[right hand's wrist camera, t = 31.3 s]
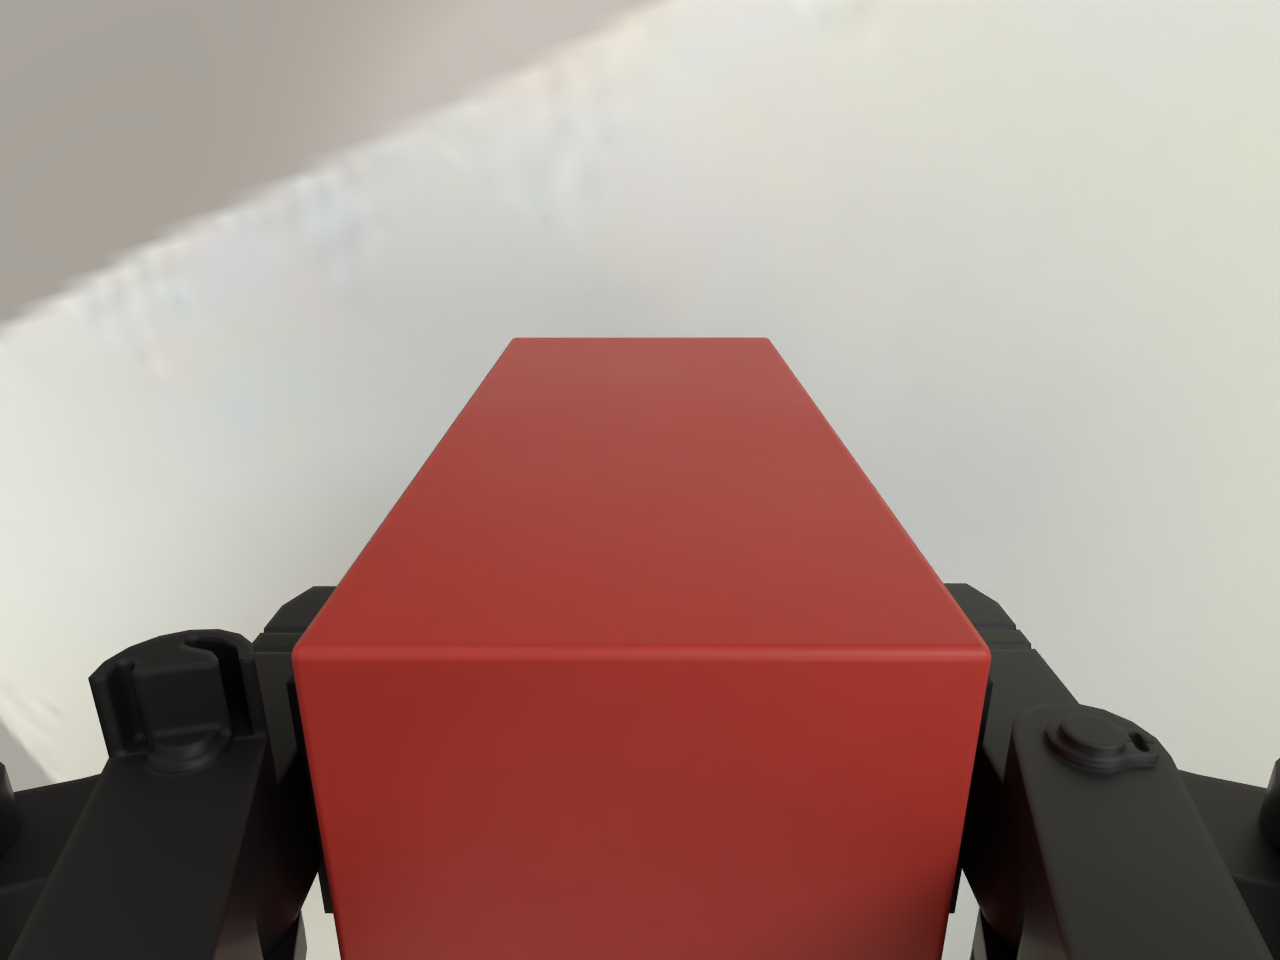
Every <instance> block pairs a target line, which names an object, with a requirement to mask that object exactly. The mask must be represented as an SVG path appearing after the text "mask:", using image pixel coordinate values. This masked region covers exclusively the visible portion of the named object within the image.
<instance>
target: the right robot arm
mask: <svg viewBox="0 0 1280 960" xmlns="http://www.w3.org/2000/svg"><path fill="white" fill-rule="evenodd" d="M944 585H945V587H946V588H947V590H948V591H949V592H950V594H951V595H952V597H953V598H954V599H955V601H956V602H957V604H958V605H959V606H960V608H961V609H962V611H963V612H964V613H965V615H966V616H967V618H968V619H969V620H970V622H971V623H972V625H973V626H974V627H975V629H976V630H977V632H978V633H979V634H980V636H981V637H982V639H983V640H984V641H985V643H986V644H987V646H988V647H989V650H990V654H991V663H990V669H989V675H988V681H987V687H986V693H985V699H984V705H983V711H982V717H981V723H980V729H979V735H978V741H977V747H976V753H975V759H974V765H973V771H972V777H971V783H970V789H969V795H968V801H967V807H966V813H965V819H964V825H963V831H962V837H961V843H960V849H959V856H958V862H957V868H956V874H955V880H954V886H953V892H952V898H951V904H950V910H949V913H954V912H955V906H956V901H957V895H958V889H959V883H960V877H961V871H962V869H963V871H964V873H965V876H966V878H967V880H968V882H969V884H970V887H971V889H972V891H973V893H974V896H975V898H976V900H977V902H978V904H979V912H978V918H977V923H976V929H975V934H974V939H973V945H972V950H971V956H970V960H1280V758H1279V759H1278V760H1277V761H1276V762H1275V766H1274V769H1273V772H1272V775H1271V778H1270V781H1269V784H1268V788H1262V787H1257V786H1252V785H1247V784H1242V783H1237V782H1232V781H1227V780H1222V779H1217V778H1212V777H1207V776H1202V775H1197V774H1193V773H1190V772H1186V771H1182V770H1178V769H1177V767H1176V765H1175V763H1174V761H1173V759H1172V757H1171V756H1170V755H1169V753H1168V752H1167V751H1166V750H1165V748H1164V747H1163V746H1162V745H1161V744H1160V742H1159V741H1158V740H1157V739H1156V738H1155V737H1154V736H1152V735H1151V734H1149V733H1148V732H1146V731H1145V730H1143V729H1142V728H1141V727H1139V726H1138V725H1136V724H1135V723H1133V722H1131V721H1129V720H1127V719H1124V718H1122V717H1120V716H1117V715H1115V714H1113V713H1110V712H1108V711H1106V710H1103V709H1098V708H1094V707H1090V706H1085V705H1081V704H1079V703H1078V702H1077V701H1076V699H1075V698H1074V697H1073V696H1072V694H1071V693H1070V692H1069V691H1068V689H1067V688H1066V687H1065V686H1064V684H1063V683H1062V682H1061V681H1060V679H1059V678H1058V677H1057V676H1056V674H1055V673H1054V672H1053V671H1052V669H1051V668H1050V667H1049V666H1048V665H1047V663H1046V662H1045V661H1044V660H1043V658H1042V657H1041V656H1040V655H1039V653H1038V652H1037V651H1036V650H1035V649H1031V643H1030V642H1029V641H1028V640H1027V638H1026V637H1025V636H1024V635H1023V633H1022V632H1021V631H1020V630H1016V625H1015V624H1014V622H1013V621H1012V620H1011V619H1010V617H1009V616H1008V615H1007V614H1006V612H1005V611H1004V610H1003V609H1002V607H1001V606H1000V605H999V604H998V603H997V602H996V601H994V600H992V599H991V598H989V597H988V596H986V595H984V594H983V593H981V592H979V591H978V590H976V589H974V588H973V587H971V586H970V585H968V584H944ZM336 587H337V586H313V587H312V588H310V589H308V590H307V591H305V592H304V593H302V594H300V595H299V596H297V597H296V598H294V599H292V600H291V601H289V602H287V603H286V604H284V605H283V606H282V607H281V608H280V609H279V610H278V612H277V613H276V614H275V615H274V617H273V618H272V619H271V620H270V622H269V623H268V624H267V625H266V627H265V628H264V633H260V634H259V635H258V637H257V638H256V639H255V640H254V642H253V643H251V642H250V641H248V640H247V639H246V638H245V637H243V636H242V635H241V634H238V633H233V632H229V631H224V630H220V629H206V630H187V631H182V632H177V633H172V634H167V635H162V636H158V637H155V638H153V639H150V640H147V641H144V642H142V643H139V644H136V645H133V646H131V647H129V648H127V649H125V650H123V651H122V652H120V653H118V654H116V655H115V656H113V657H111V658H110V659H108V660H106V661H104V662H103V663H102V664H101V666H100V667H99V668H98V669H97V670H96V671H95V672H94V673H93V674H92V675H91V676H90V677H89V678H88V679H89V683H90V687H91V691H92V694H93V698H94V702H95V706H96V710H97V713H98V717H99V721H100V725H101V728H102V732H103V736H104V740H105V744H106V747H107V751H108V755H109V759H108V761H107V763H106V765H105V767H104V769H103V771H102V773H101V774H98V775H94V776H90V777H86V778H82V779H77V780H72V781H67V782H62V783H57V784H53V785H48V786H43V787H38V788H33V789H28V790H23V791H18V792H13V790H12V787H11V784H10V781H9V778H8V774H7V771H6V768H5V765H3V764H2V763H1V762H0V960H305V959H306V952H307V944H306V936H305V929H304V923H303V918H302V912H301V908H302V905H303V903H304V901H305V899H306V897H307V894H308V892H309V890H310V888H311V886H312V883H313V881H314V879H315V877H316V874H317V872H318V875H319V880H320V886H321V892H322V898H323V904H324V910H325V913H333V908H332V902H331V896H330V890H329V884H328V878H327V872H326V866H325V860H324V854H323V847H322V841H321V835H320V829H319V823H318V817H317V811H316V805H315V799H314V793H313V787H312V781H311V775H310V769H309V763H308V757H307V751H306V745H305V739H304V733H303V727H302V721H301V715H300V709H299V702H298V696H297V690H296V684H295V678H294V672H293V666H292V659H291V655H292V652H293V648H294V646H295V645H296V643H297V642H298V641H299V639H300V638H301V636H302V635H303V633H304V632H305V631H306V629H307V628H308V626H309V625H310V624H311V622H312V621H313V619H314V618H315V617H316V615H317V614H318V612H319V611H320V610H321V608H322V607H323V605H324V604H325V603H326V601H327V600H328V598H329V597H330V596H331V594H332V593H333V591H334V590H335V588H336Z"/></svg>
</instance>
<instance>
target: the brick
mask: <svg viewBox="0 0 1280 960" xmlns="http://www.w3.org/2000/svg"><path fill="white" fill-rule="evenodd" d="M291 659H292V666H293V672H294V678H295V684H296V690H297V696H298V702H299V709H300V715H301V721H302V727H303V733H304V739H305V745H306V751H307V757H308V763H309V769H310V775H311V781H312V787H313V793H314V799H315V805H316V811H317V817H318V823H319V829H320V835H321V841H322V847H323V854H324V860H325V866H326V872H327V878H328V884H329V890H330V896H331V902H332V908H333V914H334V920H335V926H336V932H337V938H338V944H339V950H340V956H341V960H941V958H942V952H943V946H944V940H945V934H946V928H947V922H948V916H949V910H950V904H951V898H952V892H953V886H954V880H955V874H956V868H957V862H958V856H959V849H960V843H961V837H962V831H963V825H964V819H965V813H966V807H967V801H968V795H969V789H970V783H971V777H972V771H973V765H974V759H975V753H976V747H977V741H978V735H979V729H980V723H981V717H982V711H983V705H984V699H985V693H986V687H987V681H988V675H989V669H990V663H991V654H990V650H989V647H988V646H987V644H986V643H985V641H984V640H983V639H982V637H981V636H980V634H979V633H978V632H977V630H976V629H975V627H974V626H973V625H972V623H971V622H970V620H969V619H968V618H967V616H966V615H965V613H964V612H963V611H962V609H961V608H960V606H959V605H958V604H957V602H956V601H955V599H954V598H953V597H952V595H951V594H950V592H949V591H948V590H947V588H946V587H945V585H944V584H943V583H942V581H941V580H940V578H939V577H938V576H937V574H936V573H935V571H934V570H933V569H932V567H931V566H930V564H929V563H928V562H927V560H926V559H925V557H924V556H923V555H922V553H921V552H920V550H919V549H918V548H917V546H916V545H915V543H914V542H913V541H912V539H911V538H910V536H909V535H908V534H907V532H906V531H905V529H904V528H903V527H902V525H901V524H900V522H899V521H898V520H897V518H896V517H895V515H894V514H893V513H892V511H891V510H890V508H889V507H888V506H887V504H886V503H885V501H884V500H883V499H882V497H881V496H880V494H879V493H878V491H877V490H876V489H875V487H874V486H873V484H872V483H871V482H870V480H869V479H868V477H867V476H866V475H865V473H864V472H863V470H862V469H861V468H860V466H859V465H858V463H857V462H856V461H855V459H854V458H853V456H852V455H851V454H850V452H849V451H848V449H847V448H846V447H845V445H844V444H843V442H842V441H841V440H840V438H839V437H838V435H837V434H836V433H835V431H834V430H833V428H832V427H831V426H830V424H829V423H828V421H827V420H826V419H825V417H824V416H823V414H822V413H821V412H820V410H819V409H818V407H817V406H816V405H815V403H814V402H813V400H812V399H811V398H810V396H809V395H808V393H807V392H806V391H805V389H804V388H803V386H802V385H801V384H800V382H799V381H798V379H797V378H796V377H795V375H794V374H793V372H792V371H791V370H790V368H789V367H788V365H787V364H786V363H785V361H784V360H783V358H782V357H781V356H780V354H779V353H778V351H777V350H776V349H775V347H774V346H773V344H772V343H771V342H770V340H769V339H767V338H515V339H512V341H511V342H510V344H509V345H508V346H507V348H506V349H505V351H504V352H503V353H502V355H501V356H500V358H499V359H498V361H497V362H496V363H495V365H494V366H493V368H492V369H491V370H490V372H489V373H488V375H487V376H486V377H485V379H484V380H483V382H482V383H481V384H480V386H479V387H478V389H477V390H476V391H475V393H474V394H473V396H472V397H471V399H470V400H469V401H468V403H467V404H466V406H465V407H464V408H463V410H462V411H461V413H460V414H459V415H458V417H457V418H456V420H455V421H454V422H453V424H452V425H451V427H450V428H449V429H448V431H447V432H446V434H445V435H444V436H443V438H442V439H441V441H440V442H439V444H438V445H437V446H436V448H435V449H434V451H433V452H432V453H431V455H430V456H429V458H428V459H427V460H426V462H425V463H424V465H423V466H422V467H421V469H420V470H419V472H418V473H417V474H416V476H415V477H414V479H413V480H412V482H411V483H410V484H409V486H408V487H407V489H406V490H405V491H404V493H403V494H402V496H401V497H400V498H399V500H398V501H397V503H396V504H395V505H394V507H393V508H392V510H391V511H390V512H389V514H388V515H387V517H386V518H385V520H384V521H383V522H382V524H381V525H380V527H379V528H378V529H377V531H376V532H375V534H374V535H373V536H372V538H371V539H370V541H369V542H368V543H367V545H366V546H365V548H364V549H363V550H362V552H361V553H360V555H359V556H358V558H357V559H356V560H355V562H354V563H353V565H352V566H351V567H350V569H349V570H348V572H347V573H346V574H345V576H344V577H343V579H342V580H341V581H340V583H339V584H338V586H337V587H336V588H335V590H334V591H333V593H332V594H331V596H330V597H329V598H328V600H327V601H326V603H325V604H324V605H323V607H322V608H321V610H320V611H319V612H318V614H317V615H316V617H315V618H314V619H313V621H312V622H311V624H310V625H309V626H308V628H307V629H306V631H305V632H304V633H303V635H302V636H301V638H300V639H299V641H298V642H297V643H296V645H295V646H294V648H293V652H292V655H291Z"/></svg>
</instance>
